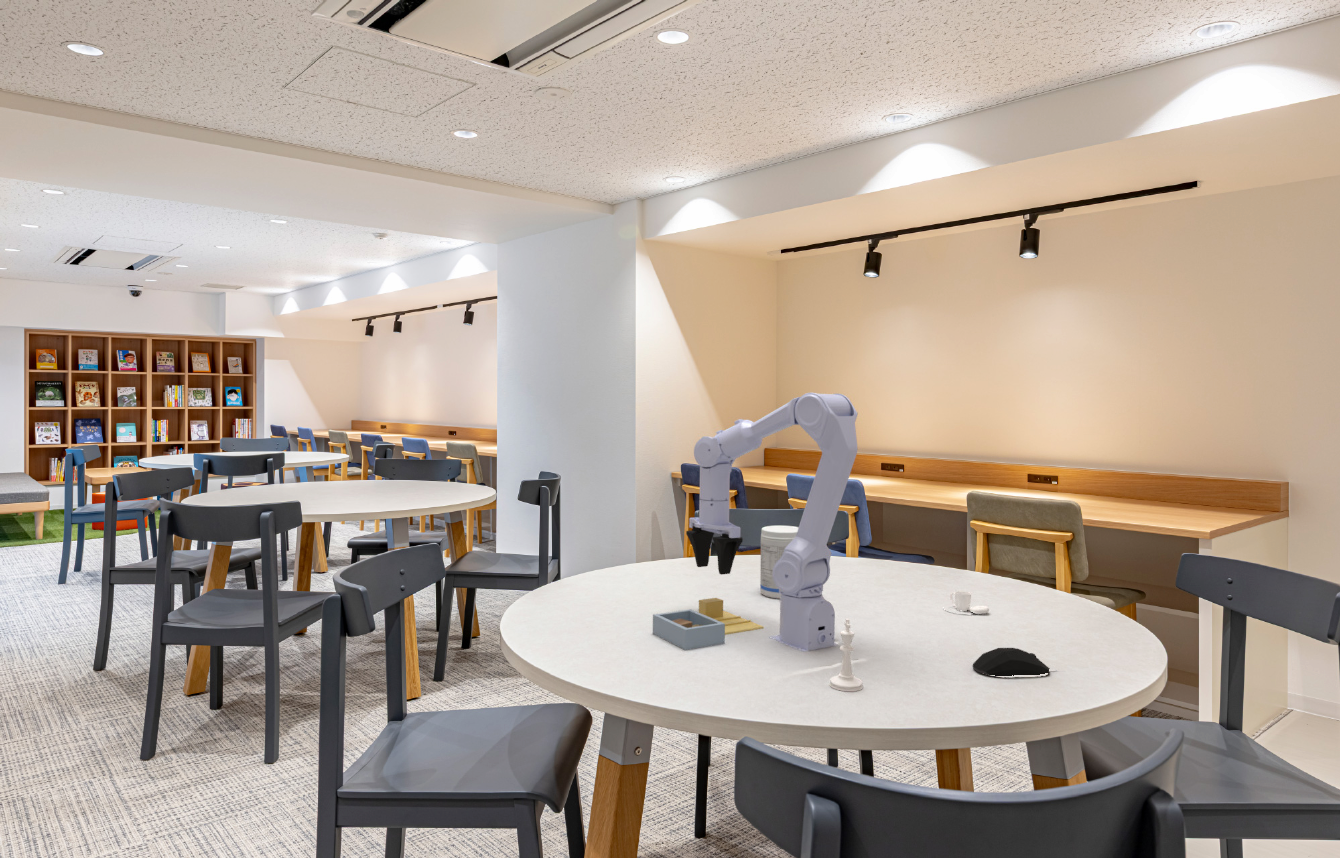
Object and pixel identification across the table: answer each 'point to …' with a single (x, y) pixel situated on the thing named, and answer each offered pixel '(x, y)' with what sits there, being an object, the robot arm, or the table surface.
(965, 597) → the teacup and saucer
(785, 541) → the supplement tub
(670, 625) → the parts tub
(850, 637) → the chess piece
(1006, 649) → the gaming mouse
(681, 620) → the walnut block
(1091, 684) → the table surface
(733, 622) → the lid
